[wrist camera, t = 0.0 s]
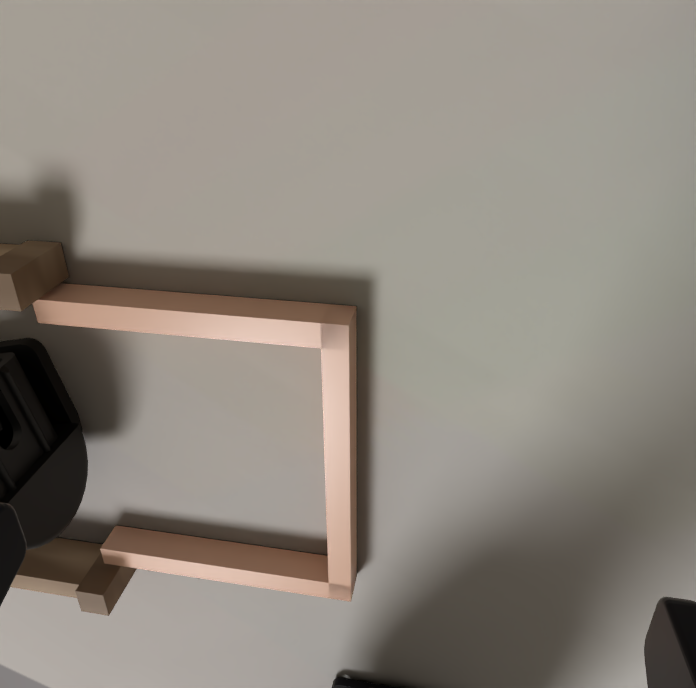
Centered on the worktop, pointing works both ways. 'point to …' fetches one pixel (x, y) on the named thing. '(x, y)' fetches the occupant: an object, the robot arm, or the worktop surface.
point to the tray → (338, 419)
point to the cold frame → (60, 554)
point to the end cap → (38, 443)
